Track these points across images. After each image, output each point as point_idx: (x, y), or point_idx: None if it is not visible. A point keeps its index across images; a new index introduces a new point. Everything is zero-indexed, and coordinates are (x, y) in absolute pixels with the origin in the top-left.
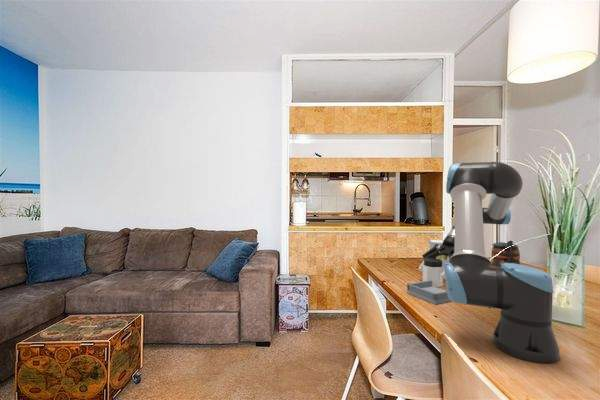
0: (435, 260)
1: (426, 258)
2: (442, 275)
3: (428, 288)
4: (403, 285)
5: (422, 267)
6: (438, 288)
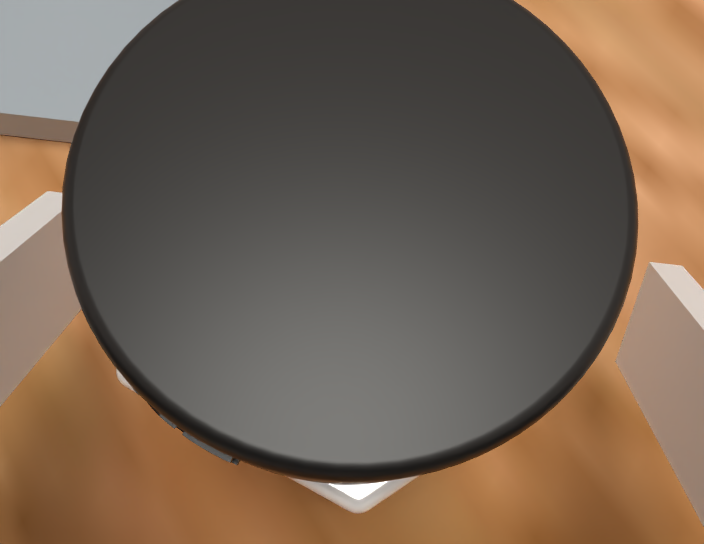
0: (259, 176)
1: (615, 189)
2: (52, 192)
3: None
4: None
5: (661, 346)
6: None
